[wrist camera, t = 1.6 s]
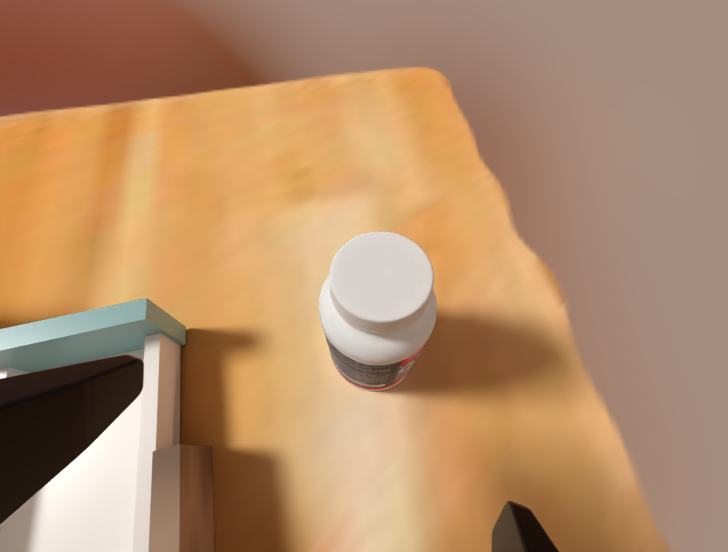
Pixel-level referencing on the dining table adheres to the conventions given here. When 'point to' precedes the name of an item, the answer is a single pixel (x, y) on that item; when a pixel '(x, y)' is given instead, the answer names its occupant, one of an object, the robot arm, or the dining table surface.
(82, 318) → the tray
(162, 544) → the dock
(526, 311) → the dining table surface
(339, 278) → the pill bottle
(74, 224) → the dining table surface
